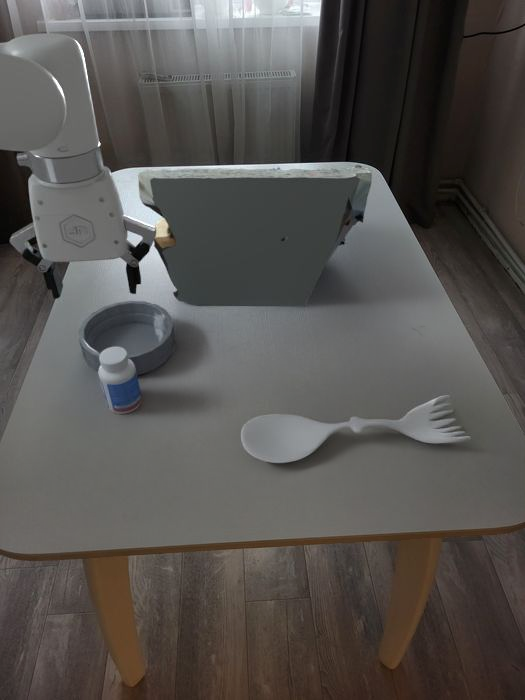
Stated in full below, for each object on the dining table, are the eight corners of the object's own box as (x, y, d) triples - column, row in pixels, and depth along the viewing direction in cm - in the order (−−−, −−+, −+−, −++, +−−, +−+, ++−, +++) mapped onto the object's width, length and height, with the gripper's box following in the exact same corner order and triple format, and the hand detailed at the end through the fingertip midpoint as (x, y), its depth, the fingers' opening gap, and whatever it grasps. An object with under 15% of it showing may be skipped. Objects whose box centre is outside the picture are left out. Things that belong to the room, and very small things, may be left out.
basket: (345, 227, 128) (351, 102, 110) (371, 308, 104) (383, 165, 86) (172, 240, 128) (150, 117, 110) (159, 323, 105) (127, 184, 87)
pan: (102, 391, 89) (96, 371, 86) (72, 338, 99) (66, 318, 96) (190, 357, 95) (188, 337, 92) (154, 311, 105) (151, 291, 102)
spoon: (467, 453, 79) (473, 437, 77) (244, 473, 77) (243, 457, 74) (445, 407, 86) (450, 391, 84) (238, 424, 83) (238, 408, 81)
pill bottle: (149, 398, 88) (140, 351, 81) (125, 420, 84) (114, 373, 78) (123, 385, 90) (112, 339, 83) (99, 406, 86) (86, 359, 80)
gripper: (-22, 179, 58) (22, 311, 69) (145, 172, 60) (162, 302, 71) (-5, 152, 64) (34, 279, 75) (147, 147, 66) (163, 271, 77)
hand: (96, 290), depth 73 cm, fingers open, 9 cm apart
